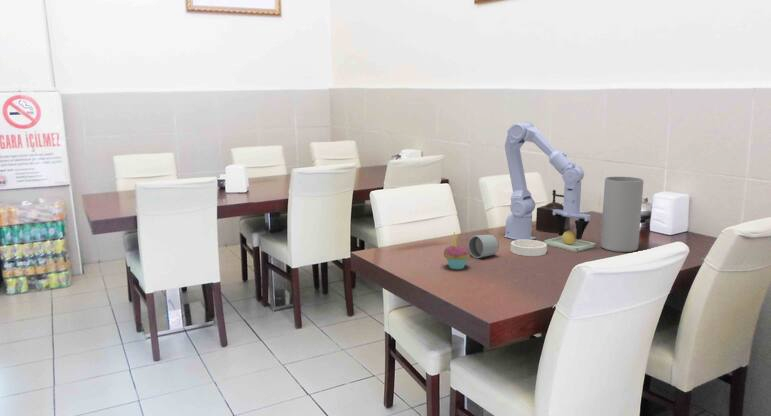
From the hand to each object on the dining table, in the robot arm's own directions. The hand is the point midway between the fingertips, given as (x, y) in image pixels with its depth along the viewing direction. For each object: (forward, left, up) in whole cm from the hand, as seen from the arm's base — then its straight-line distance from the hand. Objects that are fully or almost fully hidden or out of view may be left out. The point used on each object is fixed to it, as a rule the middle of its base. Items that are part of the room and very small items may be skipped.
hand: (569, 237), depth 210 cm
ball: (0, 0, 0) cm, 0 cm away
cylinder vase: (+13, +11, -3) cm, 17 cm away
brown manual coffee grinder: (-20, +19, -3) cm, 28 cm away
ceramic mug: (-11, -35, -3) cm, 37 cm away
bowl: (-4, -18, -3) cm, 19 cm away
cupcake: (-6, -51, -3) cm, 51 cm away
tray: (0, 0, -3) cm, 3 cm away
